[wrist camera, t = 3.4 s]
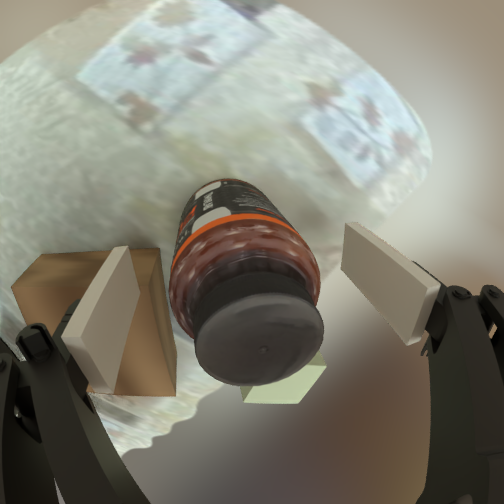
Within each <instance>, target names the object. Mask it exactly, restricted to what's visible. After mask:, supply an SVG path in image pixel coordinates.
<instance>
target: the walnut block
mask: <svg viewBox="0 0 504 504" xmlns="http://www.w3.org/2000/svg"><path fill="white" fill-rule="evenodd" d="M129 251H130V255H131V259H132V263H133V267H134V271H135V275H136V279H137V283H138V286H139V290H140V296H139V299H138V302H137V305H136V309H135V312H134V315H133V318H132V322H131V325H130V329H129V332H128V336H127V340H126V343H125V347H124V351H123V355H122V359H121V363H120V367H119V371H118V375H117V380H116V384H115V389H114V394H113V395H128V396H176V365H177V351H176V346H175V342H174V337H173V332H172V326H171V321H170V316H169V310H168V304H167V298H166V292H165V285H164V279H163V271H162V264H161V256H160V248H147V249H129ZM111 252H112V250H109V251H92V252H74V253H58V254H42V255H40V256H39V257H38V258H37V259H36V260H35V261H34V262H33V263H32V264H31V265H30V266H29V268H28V269H27V270H26V271H25V272H24V273H23V274H22V275H21V276H20V277H19V278H18V279H17V280H16V282H15V283H14V284H13V285H12V286H11V288H12V291H13V294H14V296H15V299H16V301H17V303H18V306H19V308H20V310H21V313H22V315H23V317H24V319H25V322H26V324H27V326H28V325H30V324H33V323H43V324H45V325H46V327H47V329H48V331H49V333H50V335H51V337H52V335H53V334H54V332H55V330H56V328H57V326H58V325H59V323H60V322H61V319H62V317H63V316H65V315H64V314H65V312H66V311H67V309H68V307H69V306H70V305H71V304H72V303H73V302H74V301H75V300H77V299H82V298H83V296H84V294H85V292H86V291H87V289H88V287H89V286H90V284H91V283H92V281H93V279H94V278H95V276H96V274H97V273H98V271H99V270H100V268H101V267H102V265H103V264H104V262H105V261H106V259H107V258H108V256H109V255H110V253H111ZM86 392H92V393H95V392H94V390H93V389H92V387H91V386H90V384H88V387H87V390H86ZM102 394H105V393H102Z"/></svg>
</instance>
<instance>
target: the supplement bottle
mask: <svg viewBox="0 0 504 504" xmlns="http://www.w3.org/2000/svg"><path fill="white" fill-rule="evenodd" d="M320 284H321V282H320V272H319V268H318V264H317V262H316V259H315V257H314V255H313V253H312V252H311V250H310V248H309V247H308V245H307V244H306V242H305V241H304V240H303V239H302V237H301V236H300V235H299V233H298V232H297V231H296V230H295V229H294V228H293V227H292V225H291V224H290V223H289V222H288V221H287V220H286V219H285V218H284V216H283V215H282V214H281V213H280V212H279V211H278V210H277V208H276V207H275V206H274V205H273V204H272V203H271V202H270V201H269V199H268V198H267V197H266V196H265V195H264V194H263V193H262V192H261V191H259V190H258V189H257V188H256V187H254V186H253V185H251V184H249V183H247V182H244V181H240V180H236V179H222V180H218V181H214V182H211V183H209V184H207V185H205V186H203V187H202V188H200V189H199V190H198V191H197V192H195V193H194V195H192V197H191V198H190V200H189V201H188V203H187V205H186V207H185V209H184V211H183V214H182V217H181V221H180V226H179V230H178V236H177V241H176V247H175V251H174V256H173V261H172V266H171V275H170V282H169V298H170V304H171V307H172V311H173V313H174V316H175V318H176V320H177V322H178V323H179V325H180V326H181V328H182V329H183V330H184V331H185V332H186V333H187V334H188V335H189V336H190V337H191V338H192V339H194V343H195V353H196V357H197V359H198V362H199V364H200V366H201V367H202V368H203V369H204V371H205V372H207V373H208V374H209V375H210V376H212V377H213V378H215V379H216V380H219V381H221V382H223V383H226V384H230V385H236V386H261V385H266V384H271V383H274V382H278V381H280V380H282V379H285V378H288V377H290V376H291V375H293V374H294V373H296V372H298V371H299V370H301V369H302V368H303V367H305V365H307V364H308V363H309V362H310V361H311V360H312V358H313V357H314V356H315V355H316V353H317V352H318V351H319V348H320V346H321V344H322V341H323V334H324V325H323V320H322V318H321V315H320V313H319V311H318V310H317V308H316V305H317V302H318V297H319V293H320Z"/></svg>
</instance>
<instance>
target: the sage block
mask: <svg viewBox="0 0 504 504" xmlns="http://www.w3.org/2000/svg"><path fill="white" fill-rule="evenodd" d="M326 367H327V365H326V363H325V361H324V359H323V357H322V355H321V353H320V351H318V352H317V353H316V355H315V356H314V357H313V358H312V360H311V361H310V362H309V363H308V364H307V365H305V367H303V368H302V369H301V370H299V371H298V372H296V373H294V374H293V375H291V376H290V377H288V378H285V379H282V380H280V381H278V382H274V383H271V384H266V385H261V386H240V389H241V393H242V398H243V402H245V403H275V404H282V403H283V404H292V403H299V402H300V401H301V399H302V398H303V397H304V395H305V394H306V393H307V392H308V391H309V389H310V388H311V387H312V385H313V384H314V383H315V381H316V380H317V379H318V377H319V376H320V375H321V374H322V372H323V371H324V369H325V368H326Z"/></svg>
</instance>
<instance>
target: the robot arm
mask: <svg viewBox="0 0 504 504" xmlns="http://www.w3.org/2000/svg"><path fill="white" fill-rule="evenodd" d="M341 270H342V271H343V272H344V273H345V274H346V275H347V277H348V278H349V279H350V280H351V281H352V282H353V283H354V284H355V285H356V287H357V288H358V289H359V290H360V291H361V292H362V293H363V294H364V296H365V297H366V298H367V299H368V300H369V301H370V302H371V304H372V305H373V306H374V307H375V308H376V309H377V311H378V312H379V313H380V314H381V315H382V316H383V318H384V319H385V320H386V321H387V322H388V324H389V325H390V326H391V327H392V328H393V330H394V331H395V332H396V333H397V334H398V336H399V337H400V338H401V339H402V340H403V342H404V343H405V344H406V345H410V344H413V343H415V342H418V341H420V340H421V337H422V335H423V332H424V330H426V331H427V332H428V333H429V336H428V338H427V341H426V343H425V345H424V347H423V349H422V351H421V356H423V354H424V352H425V351H426V350H428V353H427V355H426V356H428V360H429V372H430V394H431V427H430V448H429V459H428V469H427V476H426V483H425V488H424V491H423V493H422V494H421V495H420V497H419V498H418V500H417V502H416V504H504V293H503V292H502V291H501V290H500V289H498V288H497V287H496V286H493V285H484V286H483V287H482V290H481V292H480V295H479V296H472V294H471V293H470V292H469V291H468V290H467V289H465V288H463V287H460V286H449V287H446V286H445V285H444V284H443V283H442V282H440V281H439V280H438V279H437V278H435V277H434V276H433V275H432V274H429V272H428V271H426V270H425V269H424V268H422V267H421V266H420V265H419V264H417V263H416V262H414V261H411V260H409V259H408V258H407V257H406V256H404V255H403V254H401V253H400V252H399V251H398V250H396V249H394V248H393V247H392V246H391V245H389V244H388V243H387V242H385V241H384V240H382V239H381V238H379V237H378V236H377V235H375V234H374V233H372V232H371V231H369V230H368V229H367V228H365V227H364V226H362V225H361V224H359V223H358V222H356V223H345V234H344V244H343V254H342V262H341ZM139 296H140V290H139V286H138V283H137V279H136V275H135V271H134V267H133V263H132V259H131V255H130V251H129V247H128V246H120V247H114V249H113V250H112V252H111V253H110V255H109V256H108V258H107V259H106V261H105V262H104V264H103V265H102V267H101V268H100V270H99V271H98V273H97V274H96V276H95V278H94V279H93V281H92V283H91V284H90V286H89V287H88V289H87V291H86V292H85V294H84V296H83V298H82V299H77V300H75V301H74V302H73V303H72V304H71V305H70V306H69V307H68V309H67V311H66V312H65V314H64V315H65V316H63V317H62V319H61V322H60V323H59V325H58V326H57V328H56V330H55V332H54V334H53V335H52V337H51V335H50V333H49V331H48V329H47V327H46V325H45V324H43V323H33V324H30V325H28V326H27V327H25V328H24V329H23V330H22V331H20V333H19V334H18V336H17V337H16V341H15V343H16V344H17V346H18V348H19V349H20V351H21V352H22V354H23V356H24V357H25V359H26V361H22V362H19V361H18V360H17V358H16V357H15V356H14V355H13V353H12V352H11V351H10V350H9V348H8V347H7V346H6V345H5V344H4V343H3V342H2V341H1V340H0V504H59V501H58V496H57V491H56V486H55V481H56V483H57V486H58V488H59V490H60V493H61V495H62V497H63V499H64V501H65V504H151V503H150V502H149V500H148V499H147V498H146V496H145V495H144V494H143V492H142V491H141V489H140V488H139V486H138V485H137V484H136V482H135V481H134V479H133V477H132V476H131V474H130V473H129V471H128V470H127V468H126V466H125V465H124V463H123V461H122V460H121V458H120V456H119V455H118V453H117V451H116V449H115V448H114V446H113V444H112V442H111V440H110V438H109V436H108V434H107V432H106V430H105V428H104V426H103V424H102V422H101V420H100V418H99V416H98V414H97V412H96V409H95V407H94V405H93V403H92V400H91V398H90V396H89V395H88V394H87V392H86V390H87V387H88V384H90V386H91V387H92V389H93V390H94V392H95V393H105V394H114V389H115V384H116V380H117V375H118V371H119V367H120V363H121V359H122V355H123V351H124V347H125V343H126V340H127V336H128V332H129V329H130V325H131V322H132V318H133V315H134V312H135V309H136V305H137V302H138V299H139ZM494 323H495V325H496V326H497V330H496V332H495V333H494V335H493V337H492V339H491V338H490V337H489V333H490V331H491V329H492V327H493V325H494ZM17 414H18V416H16V415H17ZM54 478H55V480H54Z"/></svg>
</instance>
